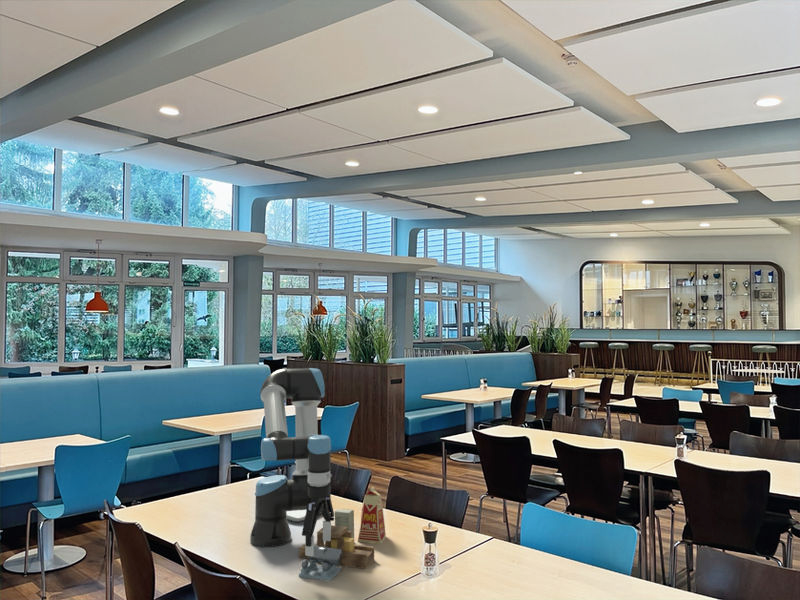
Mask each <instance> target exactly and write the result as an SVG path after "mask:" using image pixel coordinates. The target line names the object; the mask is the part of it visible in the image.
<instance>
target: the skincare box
mask: <svg viewBox="0 0 800 600" xmlns="http://www.w3.org/2000/svg"><path fill="white" fill-rule="evenodd" d="M354 512H355V511H354V509H349V508H347V509H345V508H338V509H337V510H335V511H334V526H342V527H348V531H352V538H354V539H355V513H354Z"/></svg>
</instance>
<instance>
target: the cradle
mask: <svg viewBox="0 0 800 600" xmlns="http://www.w3.org/2000/svg"><path fill="white" fill-rule="evenodd" d="M341 570H342V567H341V566H336V565H330V564H329V563H326V562H324V563H322V564H318V563H317V562H311V561H309V559H302V561H301V568H300V572H299V573H298V577H299V578H305V579H313V580H319V581H320V580H321V581H326V582H327V581H328V582H331V581H332V580H333V579H334V577H336V576H337V575H338V574H339V573H340V572H341Z"/></svg>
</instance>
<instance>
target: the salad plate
mask: <svg viewBox="0 0 800 600" xmlns="http://www.w3.org/2000/svg"><path fill="white" fill-rule="evenodd" d="M305 515H306V510H296V511H287V515H286V517H287V519H288V520H287V521H291V520H292V522H296V521H297V522H302V520H303V521H304V520H305ZM297 522H296V523H297Z"/></svg>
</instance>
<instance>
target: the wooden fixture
mask: <svg viewBox="0 0 800 600" xmlns="http://www.w3.org/2000/svg"><path fill="white" fill-rule="evenodd" d="M342 537H349V538H352V531H348V527H342V526H335V525H333V524H331V539H333V538H337V549H341V550H342V553H343V556H342V561H341V564H340V565H339V566H340V567H341V566H342V567H350V568H358V569H366V570H367V568H368V567H369V566H370V565H371V564H372V563H373V562H374V561H375V546H371V545H363V544H355V543H354V550H353V551H352V552H348V551H344V538H342ZM324 543H325V545H324ZM316 546H321V547H328V548H331V541H324V540H323V527H321V529H319V530H318V531H317V532H316ZM298 549H299V551H298V552H299V553H298V556H299V558H303V559H308V556H306V555H305V544H302V545H300V546H298Z"/></svg>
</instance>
